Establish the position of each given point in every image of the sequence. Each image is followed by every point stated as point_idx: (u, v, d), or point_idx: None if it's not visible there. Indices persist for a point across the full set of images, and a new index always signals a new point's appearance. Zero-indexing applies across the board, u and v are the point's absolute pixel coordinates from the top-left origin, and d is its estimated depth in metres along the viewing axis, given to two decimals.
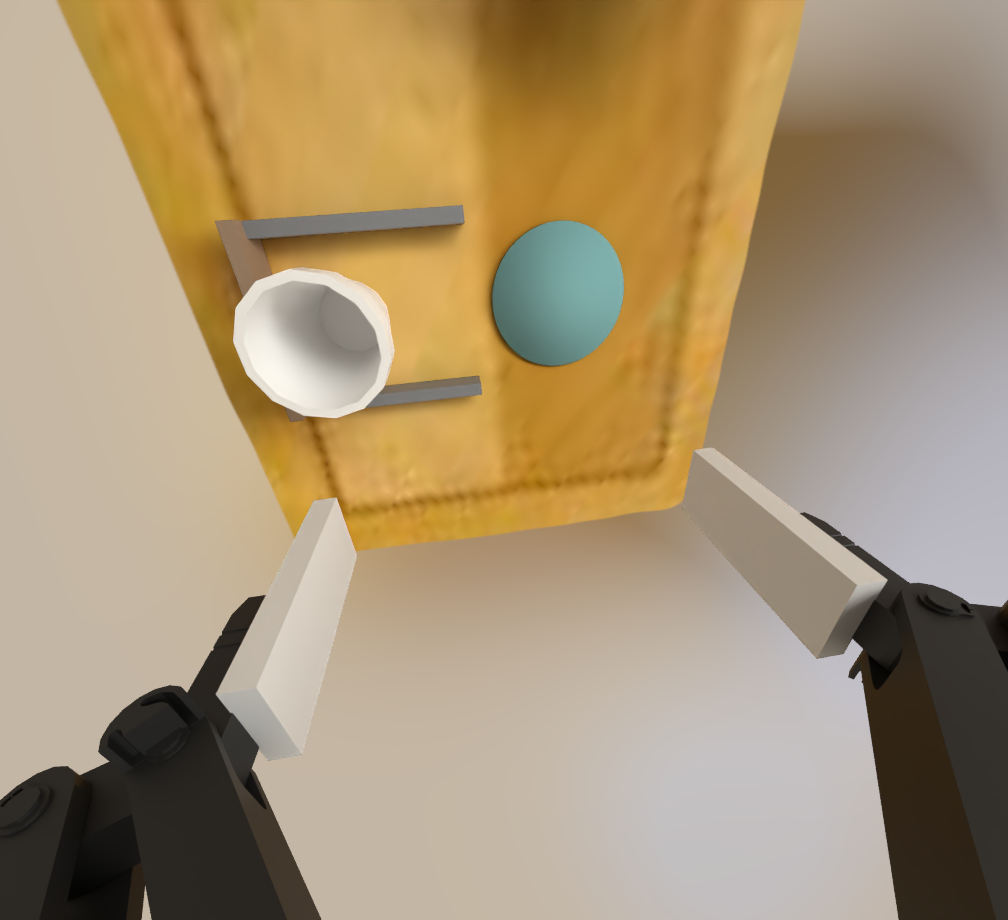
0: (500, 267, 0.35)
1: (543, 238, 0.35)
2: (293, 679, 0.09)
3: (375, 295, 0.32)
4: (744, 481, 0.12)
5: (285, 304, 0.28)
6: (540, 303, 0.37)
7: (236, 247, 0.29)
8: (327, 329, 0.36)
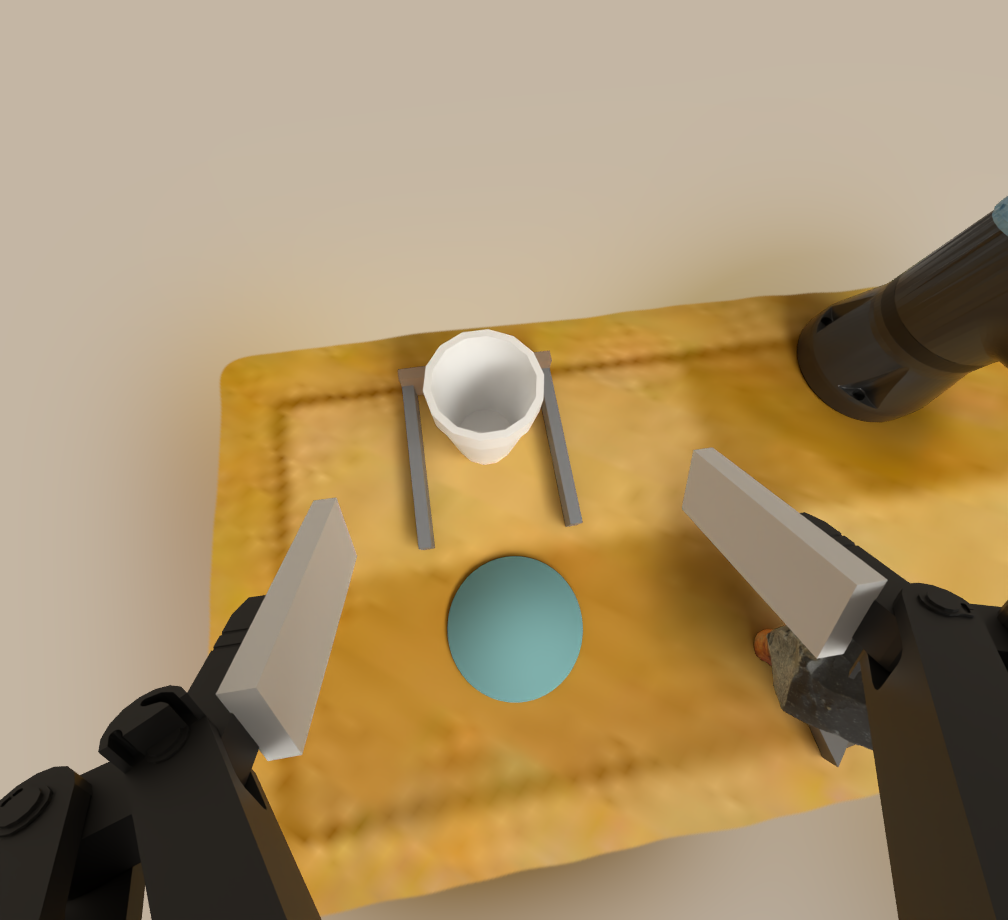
0: (537, 561, 0.39)
1: (565, 600, 0.38)
2: (293, 679, 0.09)
3: (511, 448, 0.38)
4: (744, 481, 0.12)
5: (506, 377, 0.35)
6: (510, 606, 0.37)
7: None
8: (475, 413, 0.42)
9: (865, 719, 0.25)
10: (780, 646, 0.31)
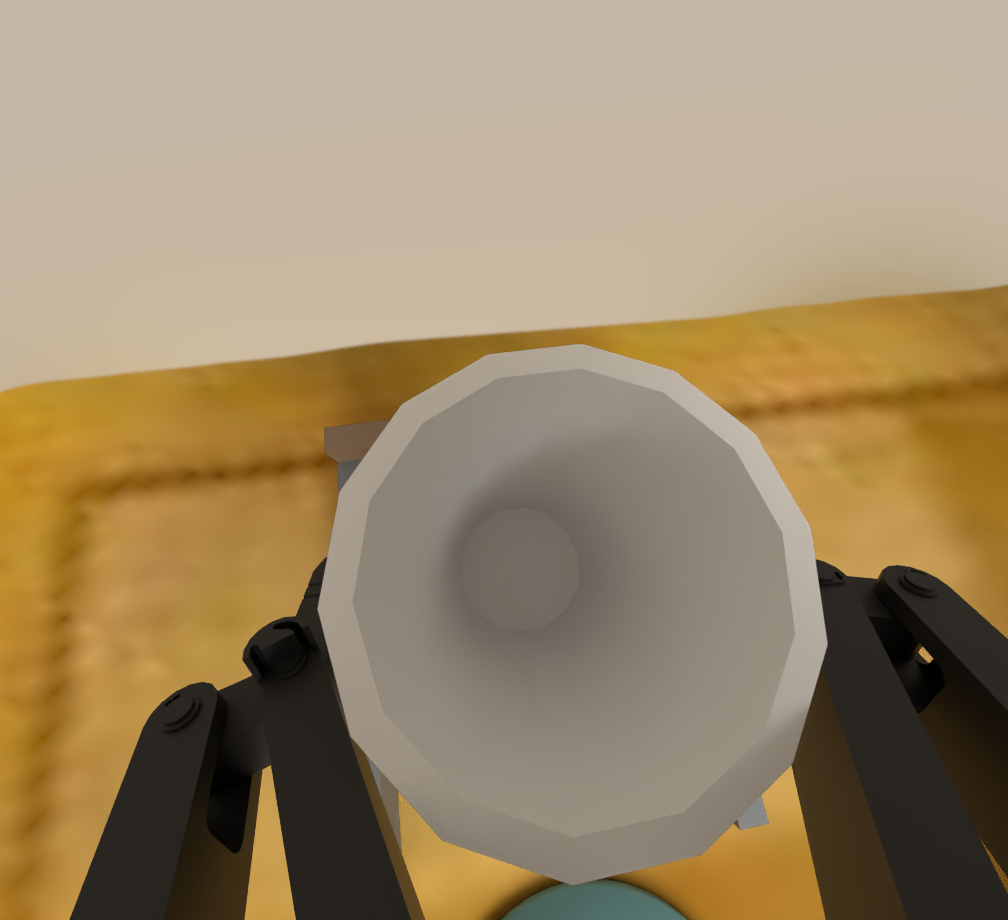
0: (648, 901, 0.16)
1: None
2: None
3: None
4: None
5: (598, 472, 0.13)
6: None
7: None
8: (499, 517, 0.20)
9: None
10: None
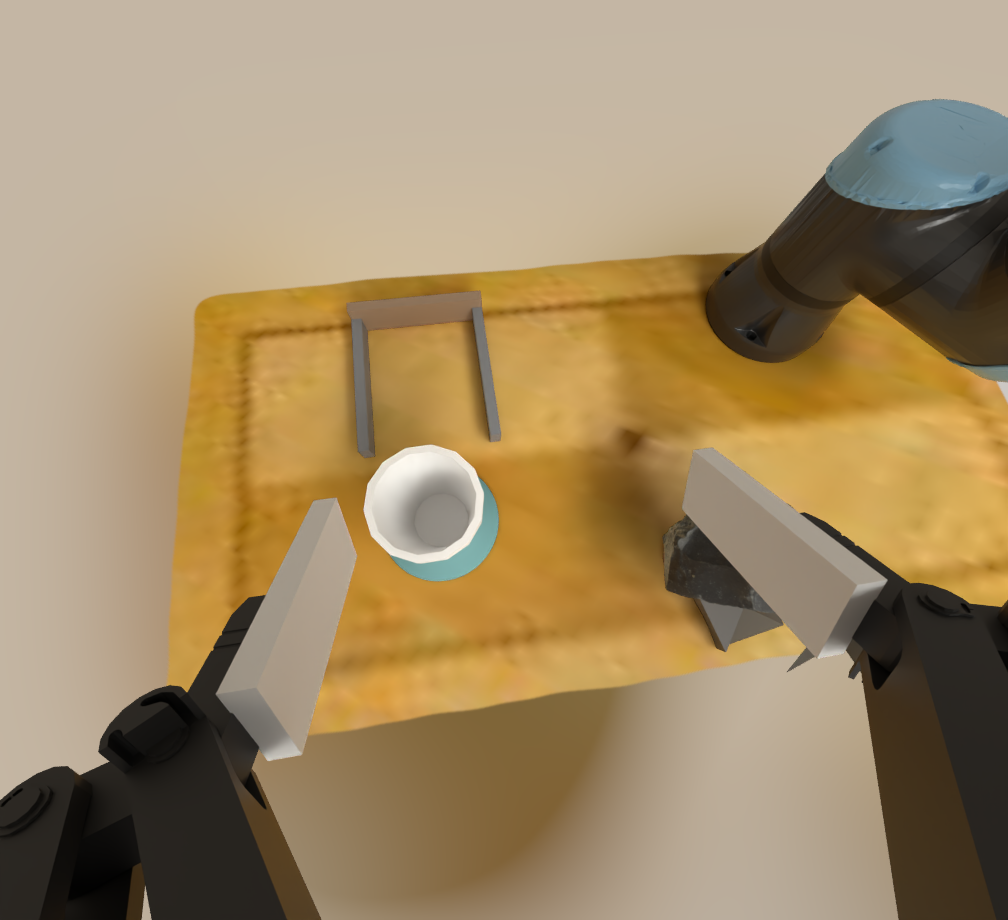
0: None
1: (485, 500, 0.44)
2: (293, 679, 0.09)
3: None
4: (744, 481, 0.12)
5: (455, 478, 0.36)
6: None
7: (466, 297, 0.47)
8: (432, 498, 0.43)
9: (716, 578, 0.31)
10: (668, 539, 0.36)
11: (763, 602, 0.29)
